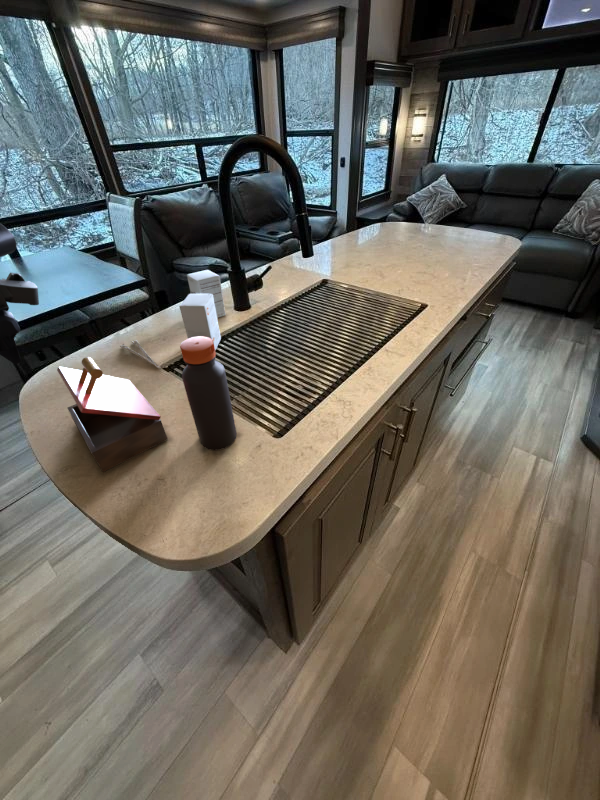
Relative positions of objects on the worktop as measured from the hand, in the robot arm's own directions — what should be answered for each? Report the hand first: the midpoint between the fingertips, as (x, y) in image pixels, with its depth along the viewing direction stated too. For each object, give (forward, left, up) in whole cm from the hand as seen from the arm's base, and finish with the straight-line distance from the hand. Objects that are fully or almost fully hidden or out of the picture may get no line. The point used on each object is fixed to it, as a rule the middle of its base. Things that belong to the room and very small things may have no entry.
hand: (14, 353), depth 64 cm
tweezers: (+23, +4, -12) cm, 26 cm away
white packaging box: (+49, +15, -12) cm, 53 cm away
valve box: (+9, -21, -12) cm, 26 cm away
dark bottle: (+22, -35, -12) cm, 43 cm away
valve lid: (+10, -21, -3) cm, 23 cm away
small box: (+38, -2, -12) cm, 40 cm away
